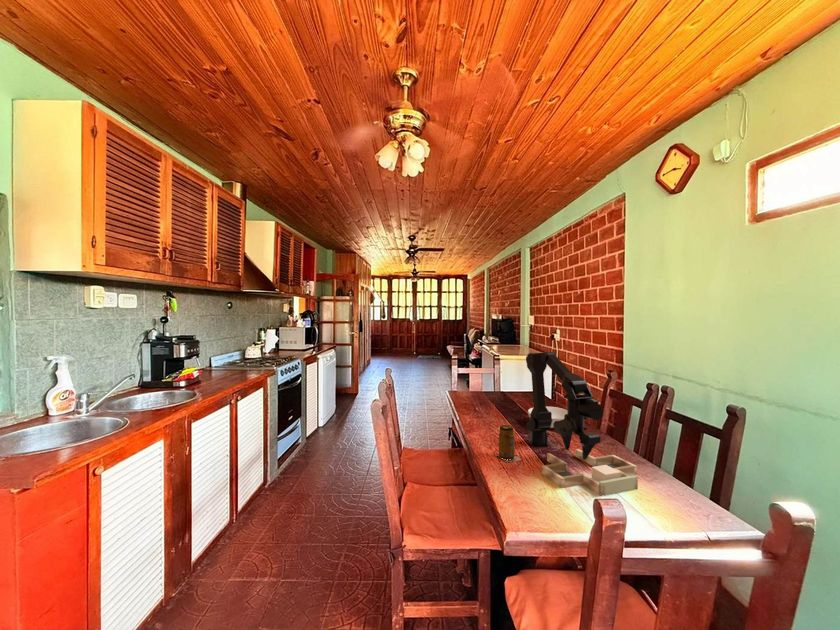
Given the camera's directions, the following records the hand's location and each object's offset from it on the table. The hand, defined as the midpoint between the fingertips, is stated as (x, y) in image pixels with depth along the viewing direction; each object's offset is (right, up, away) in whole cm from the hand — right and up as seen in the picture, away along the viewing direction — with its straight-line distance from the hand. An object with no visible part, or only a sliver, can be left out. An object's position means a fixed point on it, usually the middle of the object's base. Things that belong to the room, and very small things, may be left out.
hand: (575, 454), depth 133 cm
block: (+4, -5, -14) cm, 15 cm away
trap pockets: (+2, -5, -7) cm, 8 cm away
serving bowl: (+7, -4, +48) cm, 48 cm away
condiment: (-23, -5, +9) cm, 25 cm away
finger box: (+2, -5, -7) cm, 8 cm away
